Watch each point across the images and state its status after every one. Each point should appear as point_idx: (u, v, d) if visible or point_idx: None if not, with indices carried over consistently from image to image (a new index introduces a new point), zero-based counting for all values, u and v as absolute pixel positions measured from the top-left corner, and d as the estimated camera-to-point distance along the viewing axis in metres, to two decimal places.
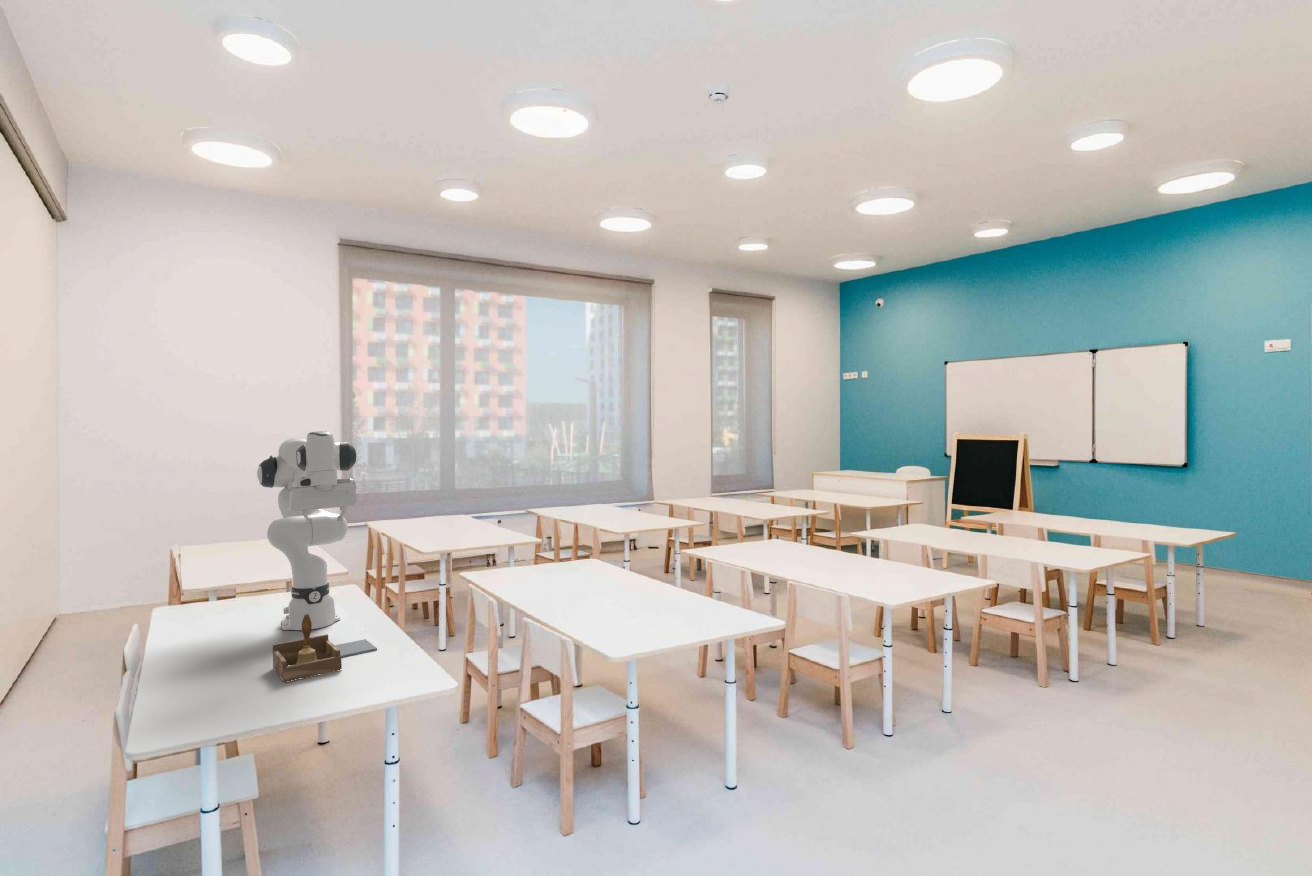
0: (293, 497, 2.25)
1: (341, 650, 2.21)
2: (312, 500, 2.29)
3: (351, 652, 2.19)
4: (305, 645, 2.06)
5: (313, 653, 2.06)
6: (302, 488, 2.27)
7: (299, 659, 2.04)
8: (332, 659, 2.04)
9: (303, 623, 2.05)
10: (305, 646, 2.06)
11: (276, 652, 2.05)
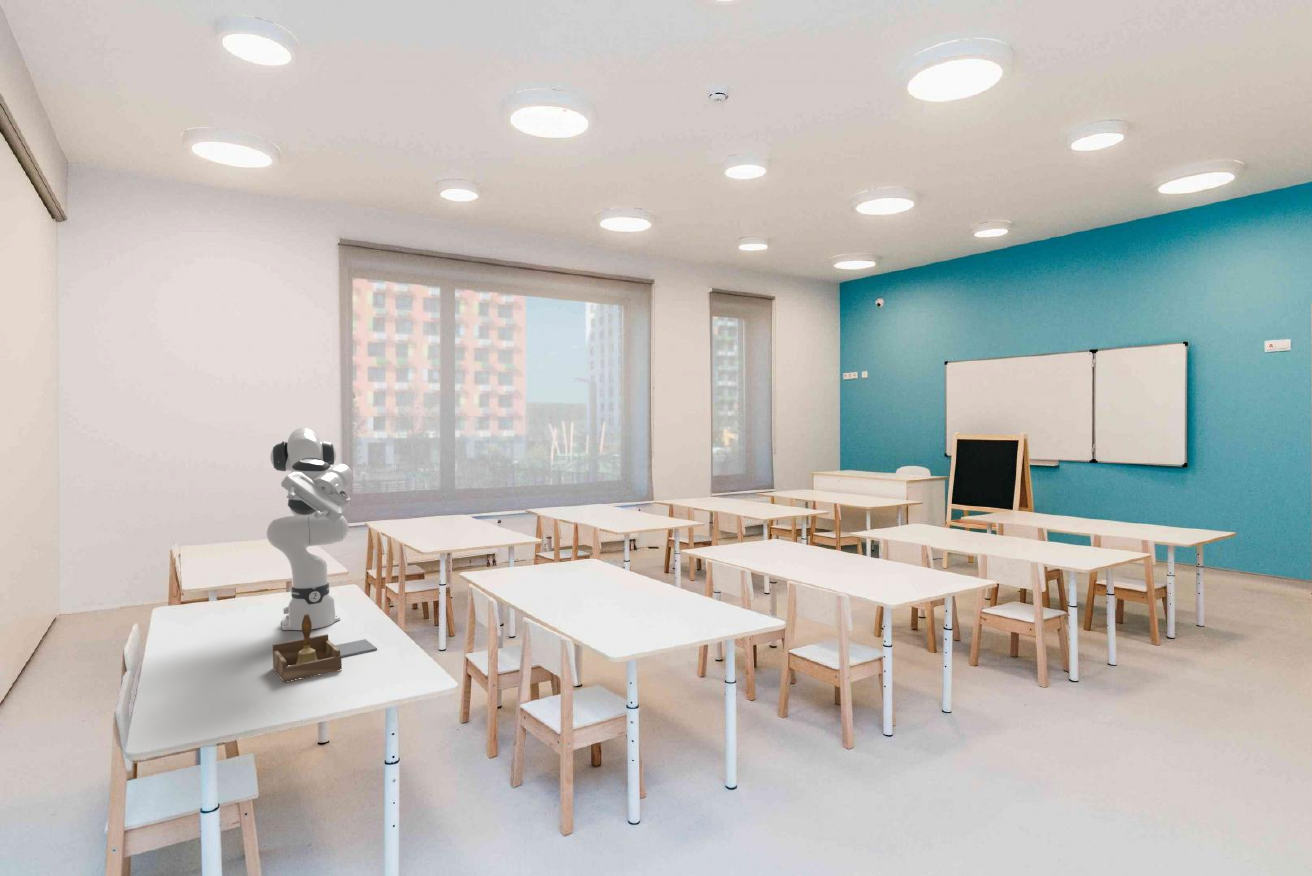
0: None
1: (341, 650, 2.21)
2: None
3: (351, 652, 2.19)
4: (305, 645, 2.06)
5: (313, 653, 2.06)
6: None
7: (299, 659, 2.04)
8: (332, 659, 2.04)
9: (303, 623, 2.05)
10: (305, 646, 2.06)
11: (276, 652, 2.05)
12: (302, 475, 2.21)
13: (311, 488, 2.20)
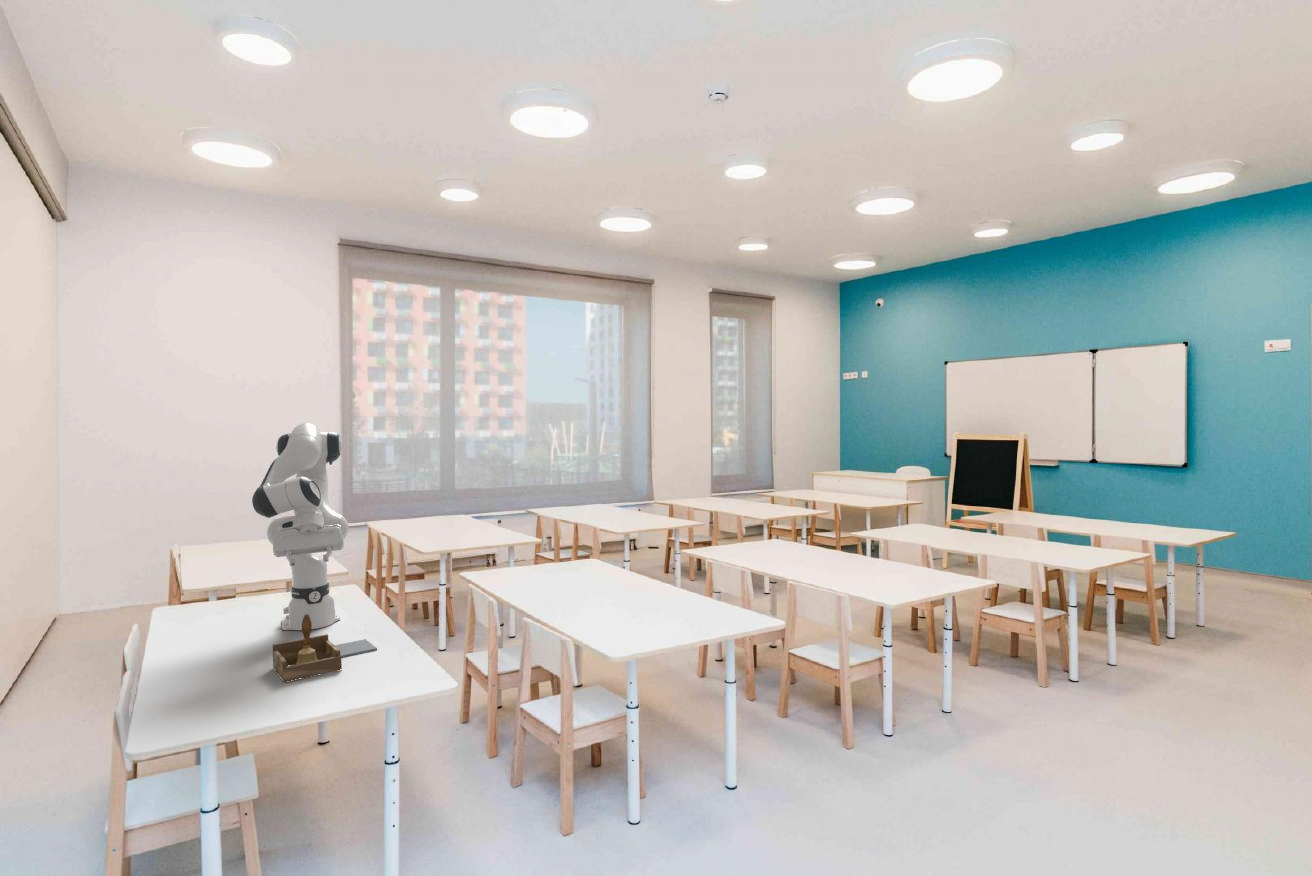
0: (275, 539, 2.23)
1: (341, 650, 2.21)
2: (295, 541, 2.24)
3: (351, 652, 2.19)
4: (305, 645, 2.06)
5: (313, 653, 2.06)
6: (284, 530, 2.25)
7: (299, 659, 2.04)
8: (332, 659, 2.04)
9: (303, 623, 2.05)
10: (305, 646, 2.06)
11: (276, 652, 2.05)
12: None
13: None
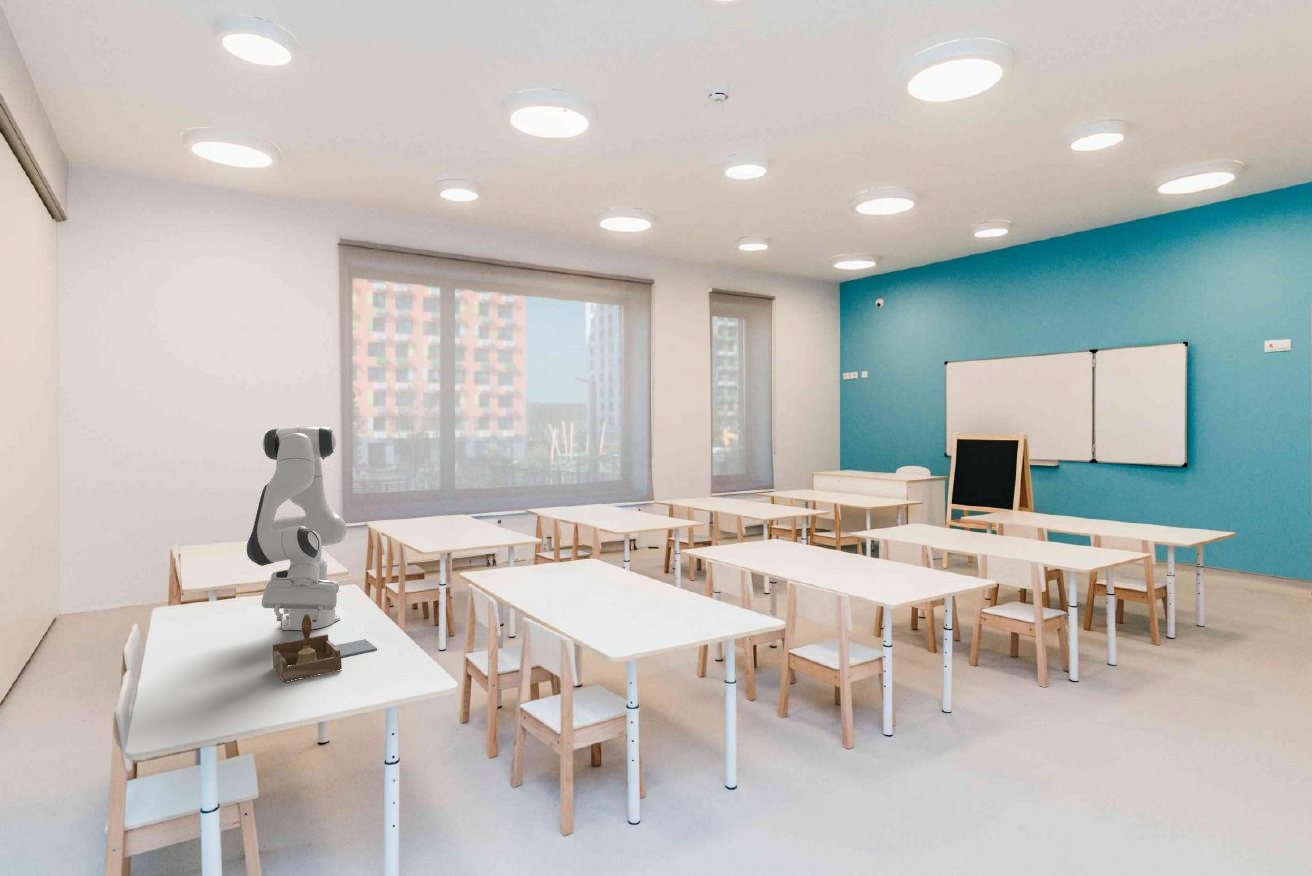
0: (266, 588, 2.10)
1: (341, 650, 2.21)
2: (286, 594, 2.11)
3: (351, 652, 2.19)
4: (305, 645, 2.06)
5: (313, 653, 2.06)
6: (277, 580, 2.12)
7: (299, 659, 2.04)
8: (332, 659, 2.04)
9: (303, 623, 2.05)
10: (305, 646, 2.06)
11: (276, 652, 2.05)
12: None
13: None
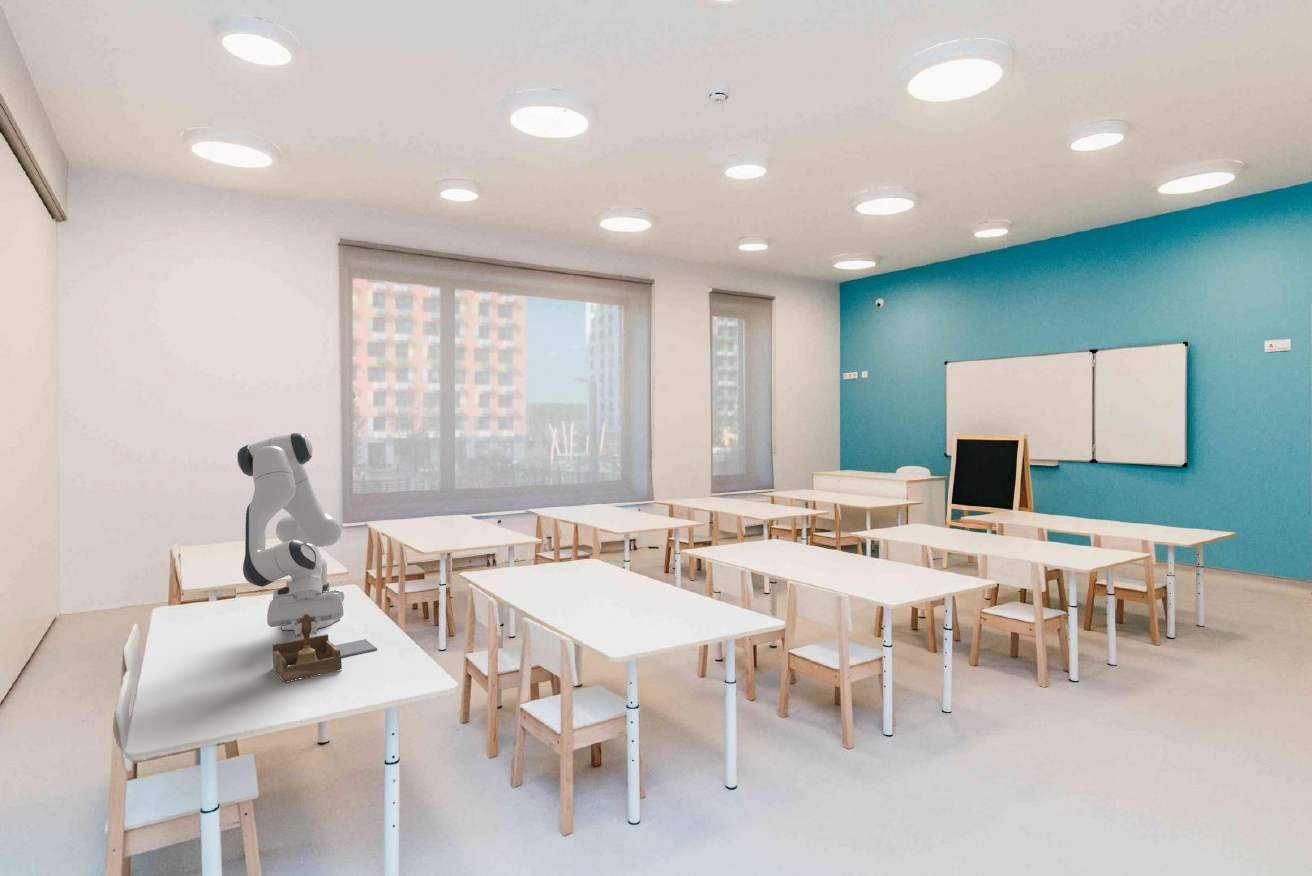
0: (269, 607, 2.06)
1: (341, 650, 2.21)
2: (291, 610, 2.08)
3: (351, 652, 2.19)
4: (305, 645, 2.06)
5: (313, 653, 2.06)
6: (280, 597, 2.08)
7: (299, 659, 2.04)
8: (332, 659, 2.04)
9: (303, 623, 2.05)
10: (305, 646, 2.06)
11: (276, 652, 2.05)
12: None
13: None
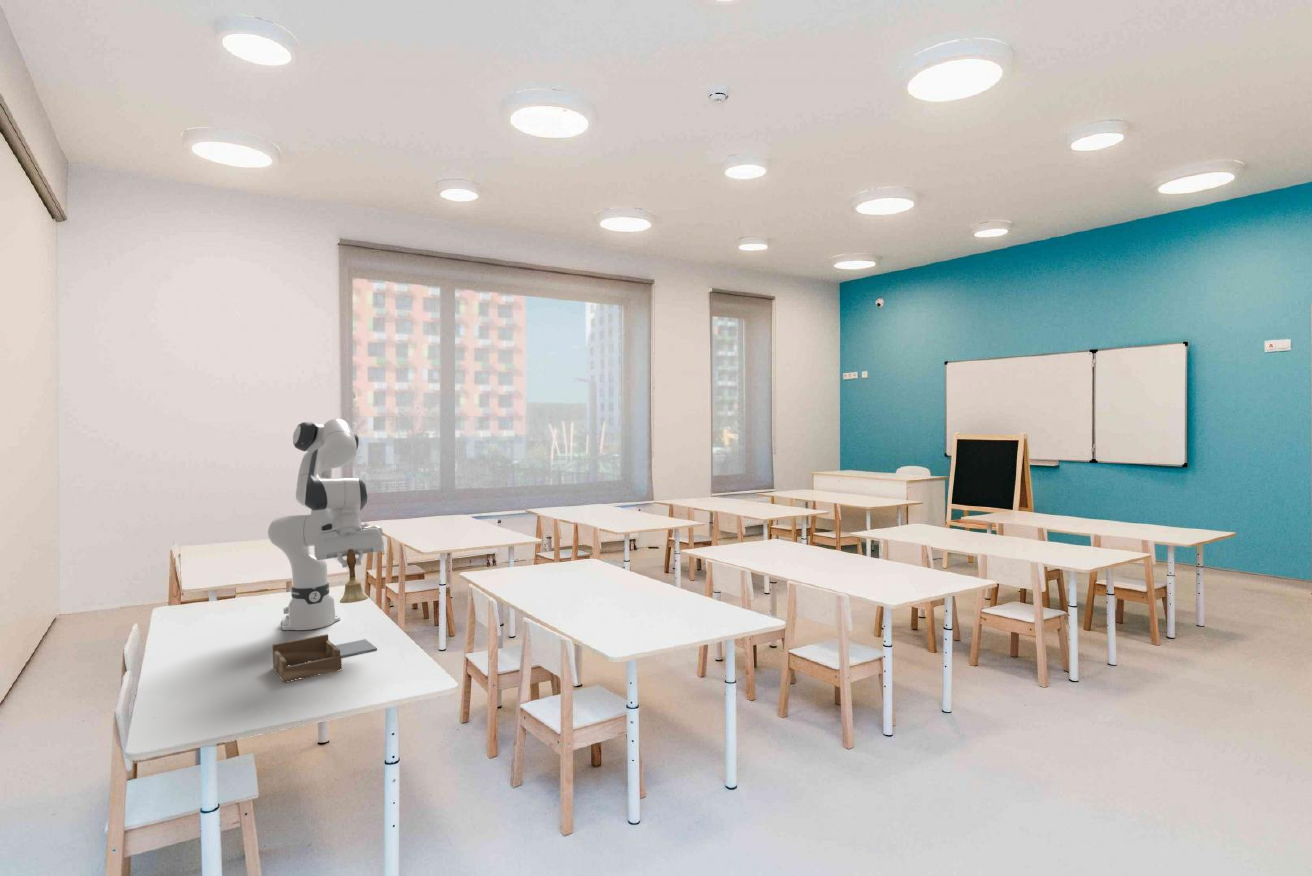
0: (315, 542, 2.21)
1: (341, 650, 2.21)
2: (335, 544, 2.23)
3: (351, 652, 2.19)
4: (351, 577, 2.21)
5: (359, 584, 2.22)
6: (324, 533, 2.24)
7: (346, 590, 2.20)
8: (332, 659, 2.04)
9: (348, 556, 2.21)
10: (351, 578, 2.21)
11: (276, 652, 2.05)
12: None
13: None
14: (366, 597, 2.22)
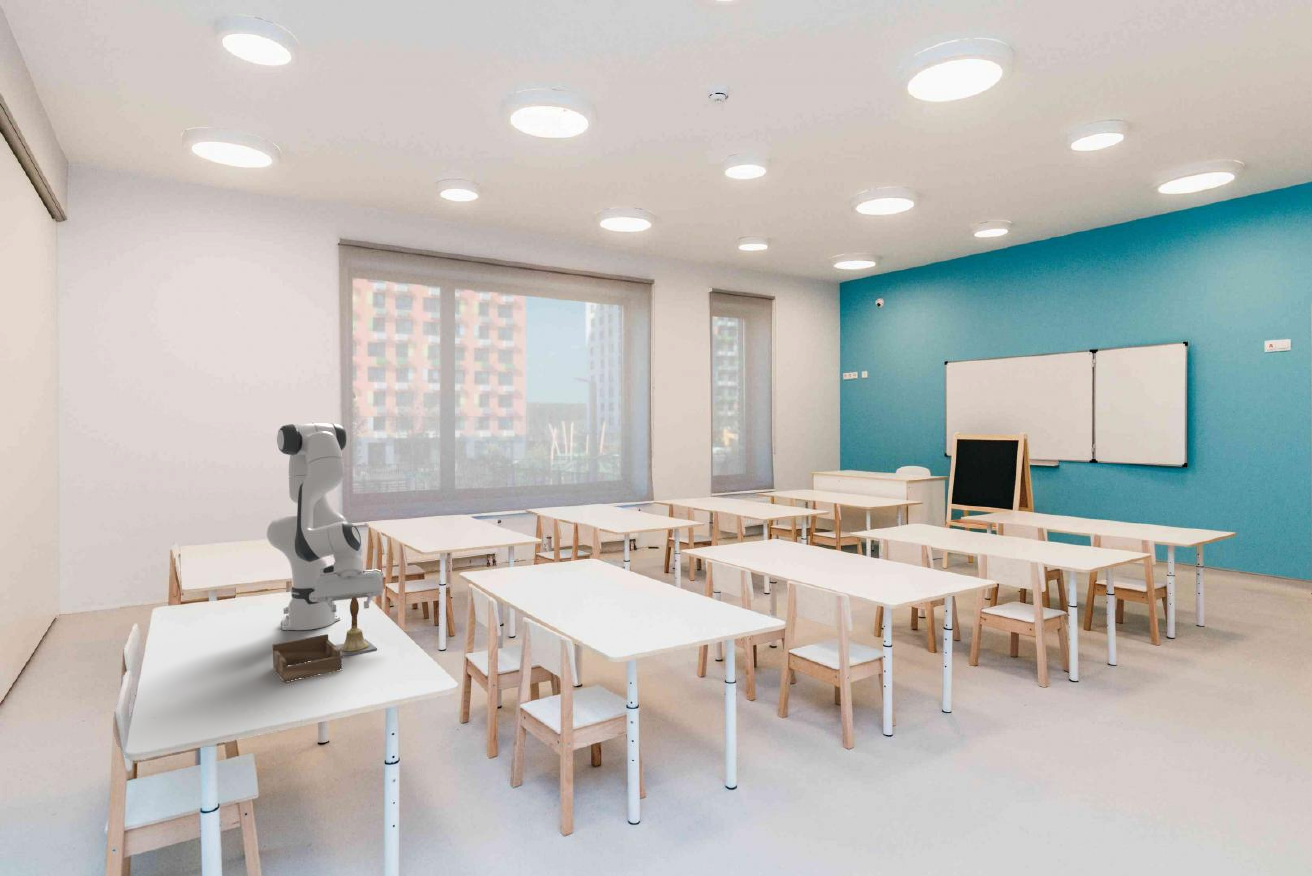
0: (316, 584, 2.23)
1: (341, 650, 2.21)
2: (336, 587, 2.25)
3: (351, 652, 2.19)
4: (353, 625, 2.23)
5: (360, 633, 2.23)
6: (325, 575, 2.25)
7: (347, 638, 2.21)
8: (332, 659, 2.04)
9: (351, 605, 2.22)
10: (353, 626, 2.23)
11: (276, 652, 2.05)
12: None
13: None
14: (366, 646, 2.23)
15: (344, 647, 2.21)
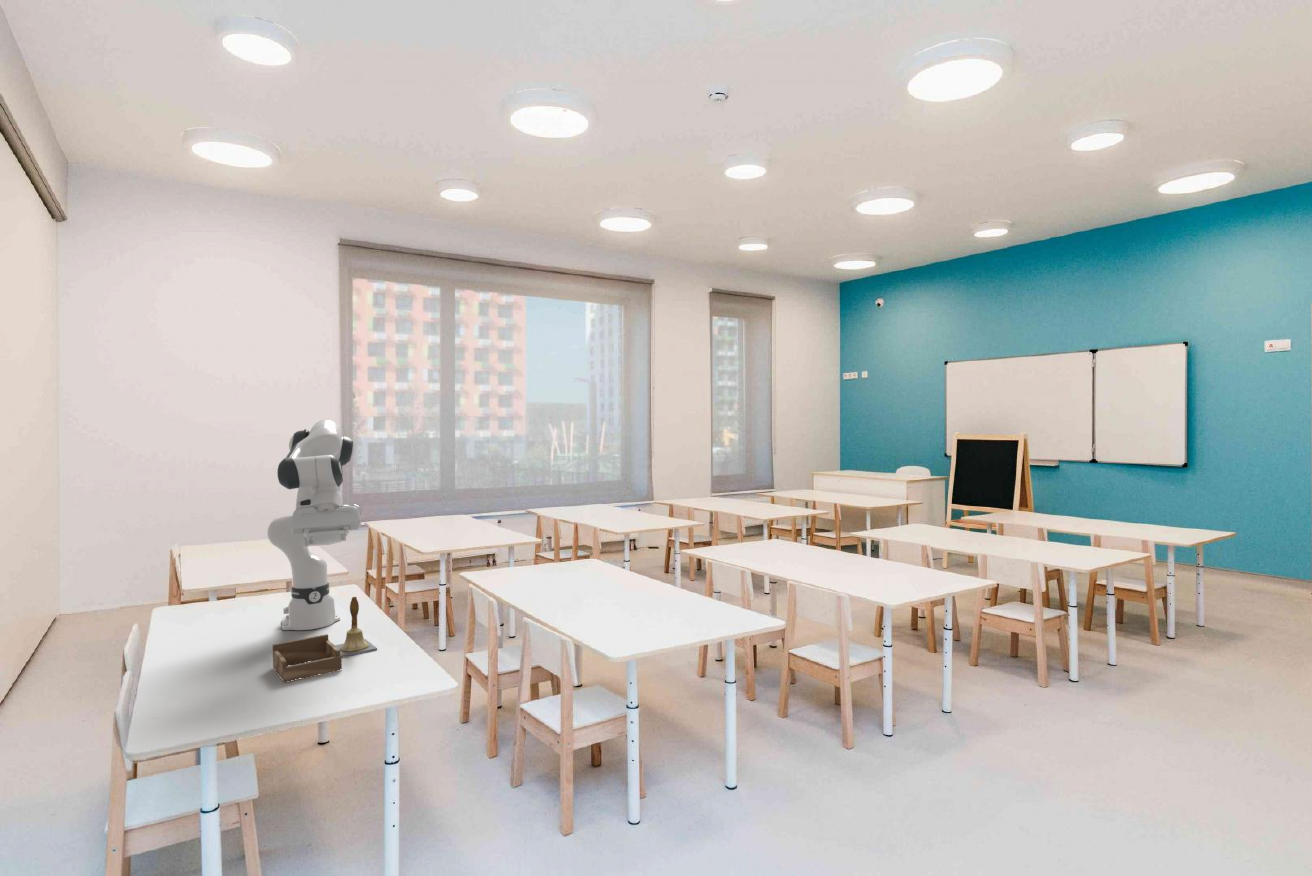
0: (293, 516, 2.23)
1: (341, 650, 2.21)
2: (313, 519, 2.25)
3: (351, 652, 2.19)
4: (353, 625, 2.23)
5: (360, 633, 2.23)
6: (302, 508, 2.26)
7: (347, 638, 2.21)
8: (332, 659, 2.04)
9: (351, 605, 2.22)
10: (353, 626, 2.23)
11: (276, 652, 2.05)
12: None
13: None
14: (366, 646, 2.23)
15: (344, 647, 2.21)
